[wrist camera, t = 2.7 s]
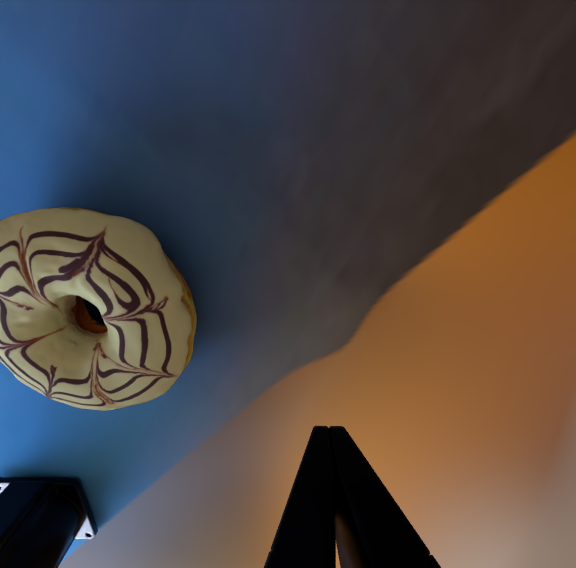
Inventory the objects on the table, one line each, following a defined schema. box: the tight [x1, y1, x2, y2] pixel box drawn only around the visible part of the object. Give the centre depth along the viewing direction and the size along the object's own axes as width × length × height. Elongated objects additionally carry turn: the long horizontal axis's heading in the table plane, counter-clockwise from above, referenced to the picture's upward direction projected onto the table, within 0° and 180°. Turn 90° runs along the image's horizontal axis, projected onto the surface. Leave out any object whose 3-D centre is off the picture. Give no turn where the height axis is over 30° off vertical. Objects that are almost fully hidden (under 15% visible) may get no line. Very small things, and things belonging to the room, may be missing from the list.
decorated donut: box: [0, 207, 197, 411], centre depth 15 cm, size 10×11×4 cm
